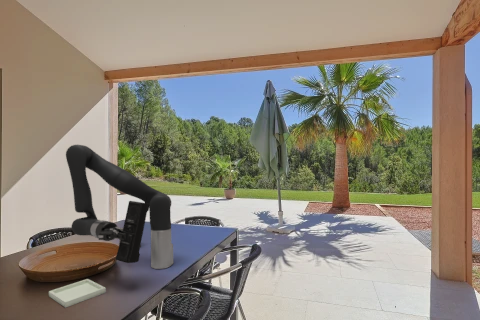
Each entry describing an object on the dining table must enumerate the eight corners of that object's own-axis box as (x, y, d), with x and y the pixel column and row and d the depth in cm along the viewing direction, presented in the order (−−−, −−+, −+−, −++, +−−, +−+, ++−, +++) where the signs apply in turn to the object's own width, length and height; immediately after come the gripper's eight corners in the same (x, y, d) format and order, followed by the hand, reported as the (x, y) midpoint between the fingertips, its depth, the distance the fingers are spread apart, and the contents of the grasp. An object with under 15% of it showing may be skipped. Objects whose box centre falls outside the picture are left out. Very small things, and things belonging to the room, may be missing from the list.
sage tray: (87, 283, 120) (87, 278, 120) (105, 292, 111) (105, 287, 111) (48, 296, 109) (48, 291, 109) (65, 307, 100) (65, 302, 100)
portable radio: (112, 259, 113) (126, 194, 117) (124, 258, 118) (137, 195, 123) (127, 263, 110) (140, 196, 114) (139, 262, 115) (151, 197, 119)
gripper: (86, 224, 118) (109, 230, 107) (119, 218, 129) (142, 223, 118) (87, 243, 118) (110, 251, 107) (119, 235, 129) (143, 241, 118)
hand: (127, 236), depth 113 cm, fingers closed on portable radio
